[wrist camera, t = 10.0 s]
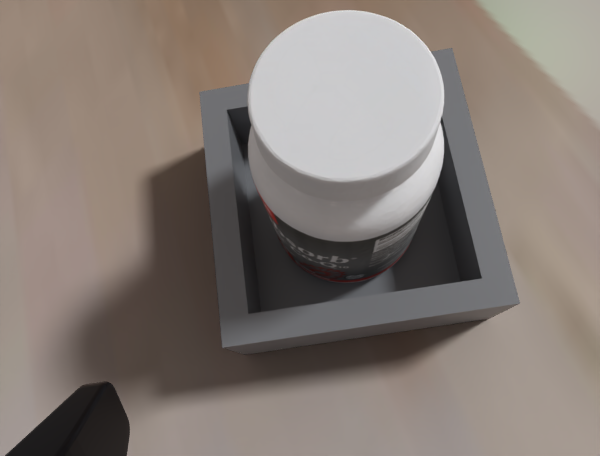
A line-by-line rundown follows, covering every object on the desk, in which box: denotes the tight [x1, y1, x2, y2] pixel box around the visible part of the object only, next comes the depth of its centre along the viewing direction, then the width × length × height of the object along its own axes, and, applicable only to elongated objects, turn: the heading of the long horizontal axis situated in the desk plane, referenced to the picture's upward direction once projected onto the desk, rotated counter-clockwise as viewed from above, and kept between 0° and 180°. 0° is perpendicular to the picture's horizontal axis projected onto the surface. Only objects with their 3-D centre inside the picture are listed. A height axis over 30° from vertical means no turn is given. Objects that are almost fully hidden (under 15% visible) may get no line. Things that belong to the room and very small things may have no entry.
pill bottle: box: [247, 10, 444, 283], centre depth 17 cm, size 6×6×10 cm
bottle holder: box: [200, 48, 520, 355], centre depth 21 cm, size 10×10×4 cm
